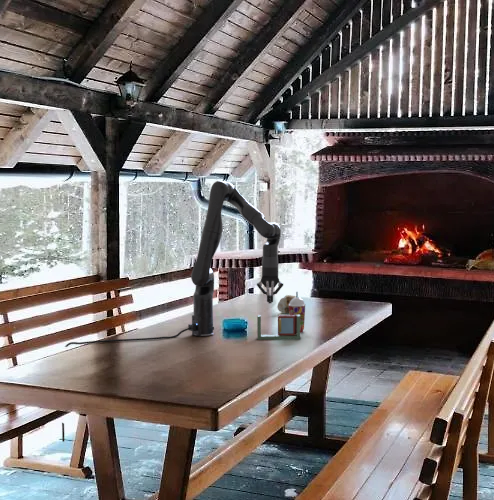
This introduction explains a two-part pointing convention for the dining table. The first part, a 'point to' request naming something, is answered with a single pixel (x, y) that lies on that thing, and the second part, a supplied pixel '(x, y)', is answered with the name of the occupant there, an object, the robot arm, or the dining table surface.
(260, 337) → the green double frame
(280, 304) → the stone
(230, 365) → the dining table surface
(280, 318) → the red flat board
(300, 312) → the smoothie
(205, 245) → the robot arm
